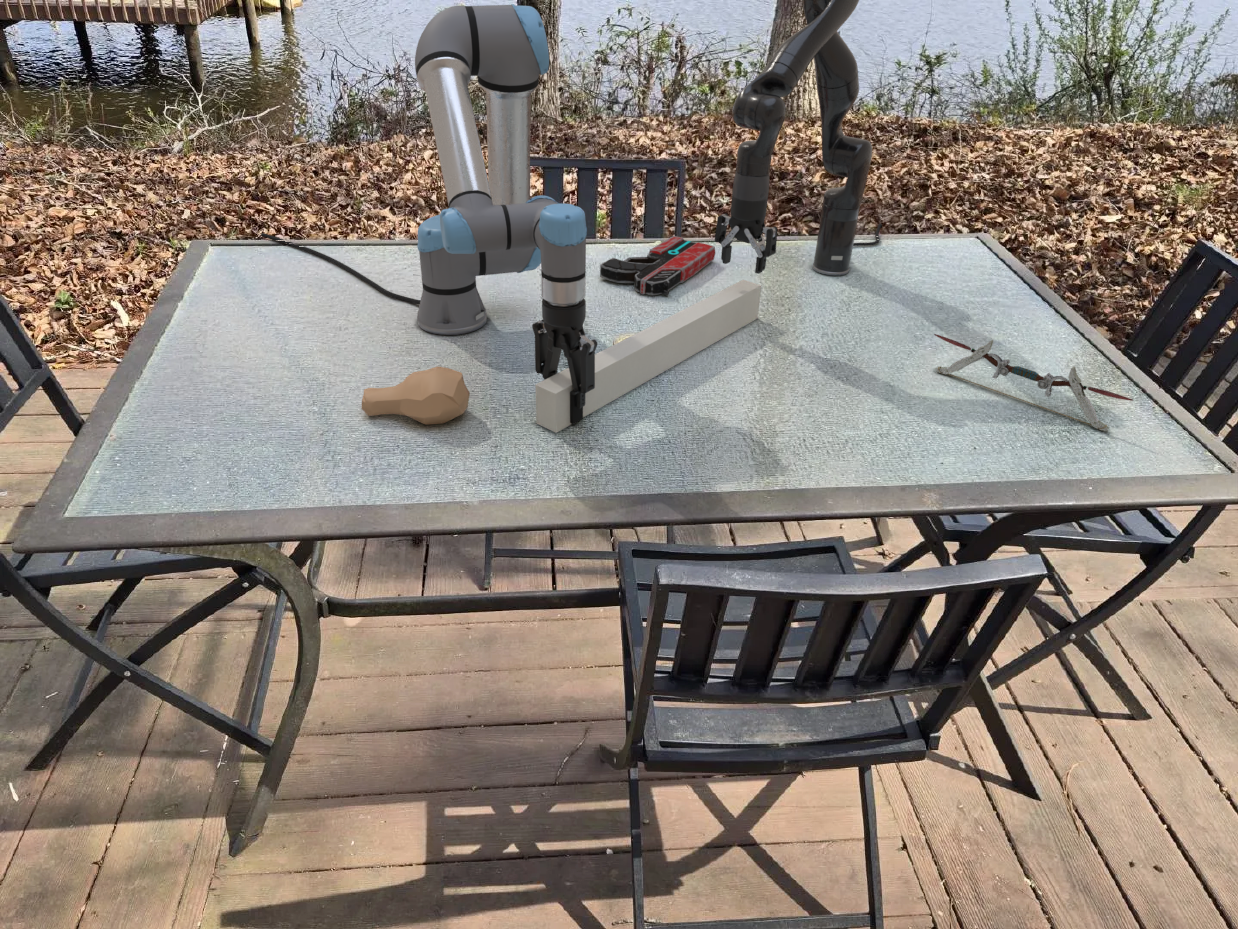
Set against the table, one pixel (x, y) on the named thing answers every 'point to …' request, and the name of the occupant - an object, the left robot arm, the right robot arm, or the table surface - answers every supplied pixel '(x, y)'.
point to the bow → (1043, 382)
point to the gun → (660, 266)
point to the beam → (650, 352)
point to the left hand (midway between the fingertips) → (565, 415)
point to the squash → (421, 397)
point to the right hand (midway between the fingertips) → (742, 267)
